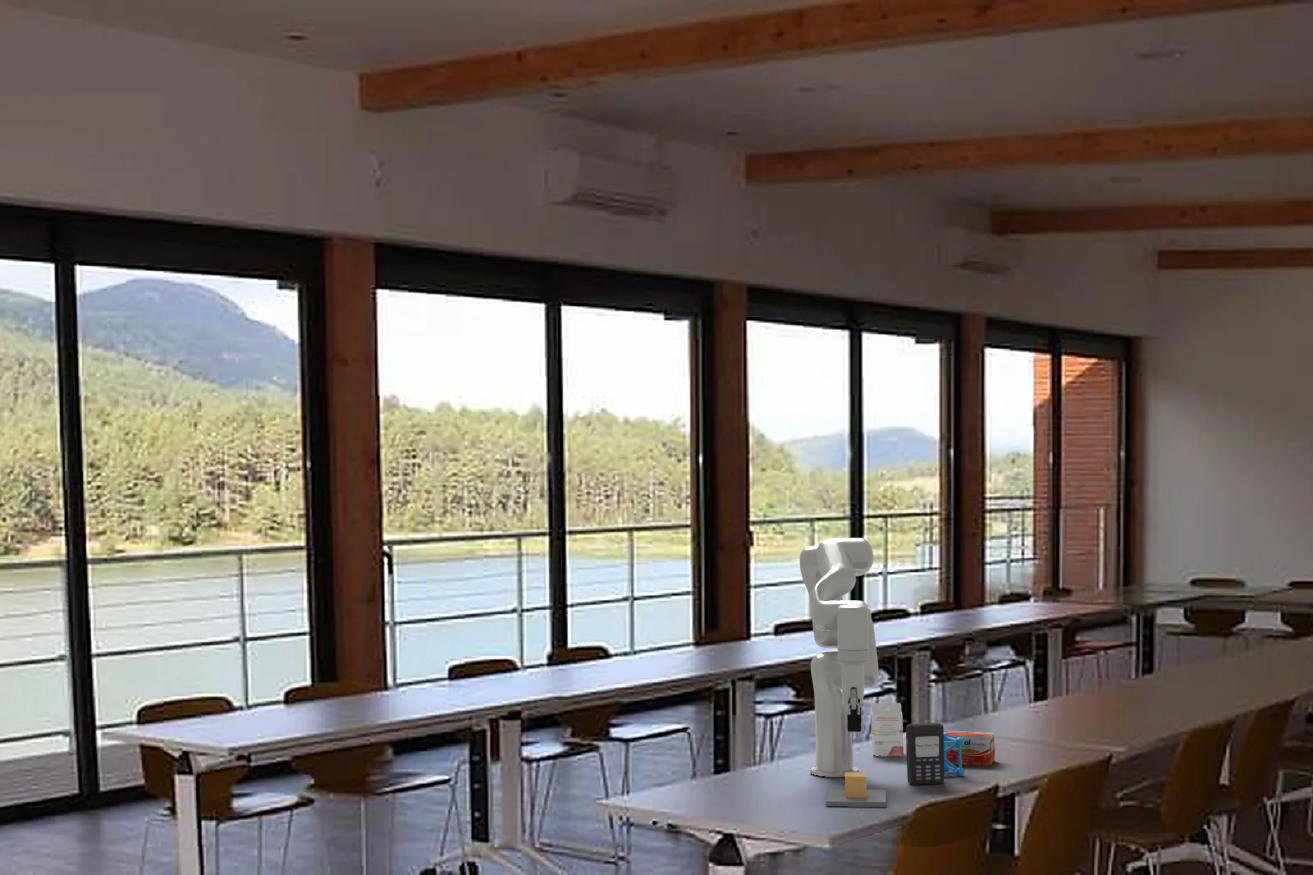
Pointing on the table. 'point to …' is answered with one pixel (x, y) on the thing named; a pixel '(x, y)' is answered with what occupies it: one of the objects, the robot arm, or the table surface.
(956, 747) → the medicine box
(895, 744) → the ink cartridge box
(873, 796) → the plate
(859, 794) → the tan wooden cube
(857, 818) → the table surface
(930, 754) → the card reader
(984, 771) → the table surface
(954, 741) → the molecular structure
